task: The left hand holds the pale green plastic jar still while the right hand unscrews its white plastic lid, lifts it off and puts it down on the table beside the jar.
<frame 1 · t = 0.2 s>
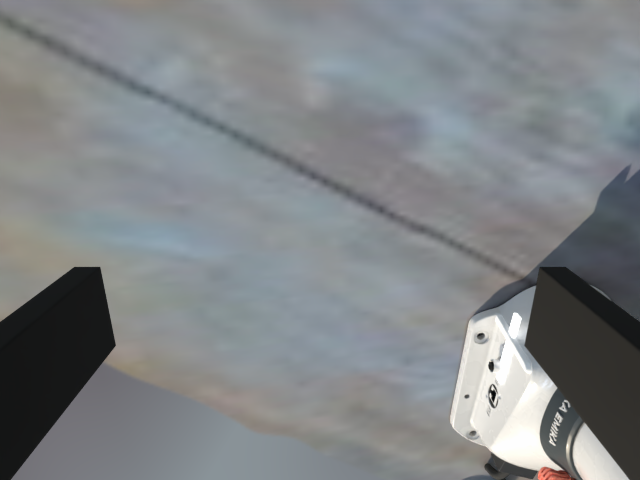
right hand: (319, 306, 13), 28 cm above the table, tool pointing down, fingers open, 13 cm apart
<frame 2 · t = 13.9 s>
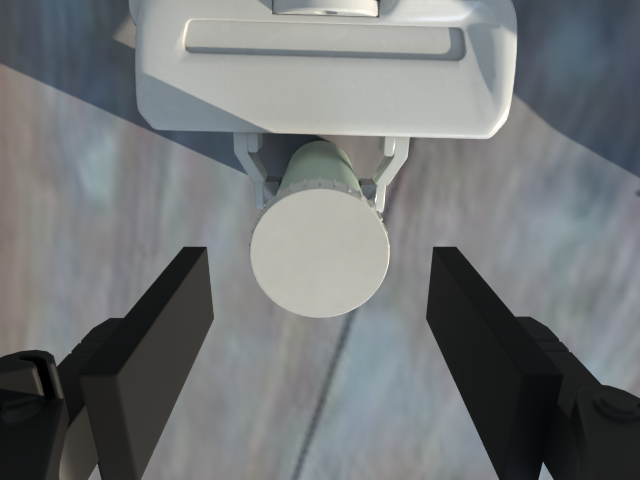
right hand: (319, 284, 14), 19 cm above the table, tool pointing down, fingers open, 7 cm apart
left hand: (320, 208, 26), fingers closed on jar, 5 cm apart
lid: (319, 253, 17), point 16 cm above the table, screwed on, not yet turned
jar: (319, 173, 32), on the table, touching left hand
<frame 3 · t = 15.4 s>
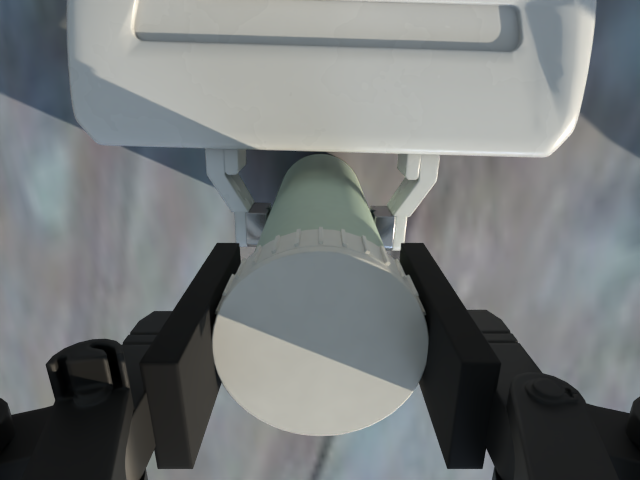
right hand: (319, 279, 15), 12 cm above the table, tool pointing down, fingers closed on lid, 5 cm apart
left hand: (320, 245, 20), fingers closed on jar, 5 cm apart
lid: (320, 344, 11), point 16 cm above the table, screwed on, not yet turned, touching right hand
jar: (320, 193, 26), on the table, touching left hand
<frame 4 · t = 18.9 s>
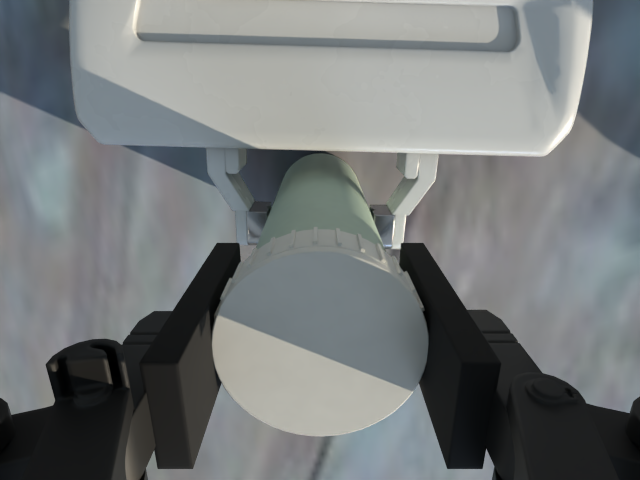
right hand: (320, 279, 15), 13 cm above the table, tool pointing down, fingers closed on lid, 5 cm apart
left hand: (320, 243, 20), fingers closed on jar, 5 cm apart
lid: (320, 344, 11), point 16 cm above the table, turned 123° so far, risen 0.2 cm, still on its thread, touching right hand
jar: (320, 192, 26), on the table, touching left hand
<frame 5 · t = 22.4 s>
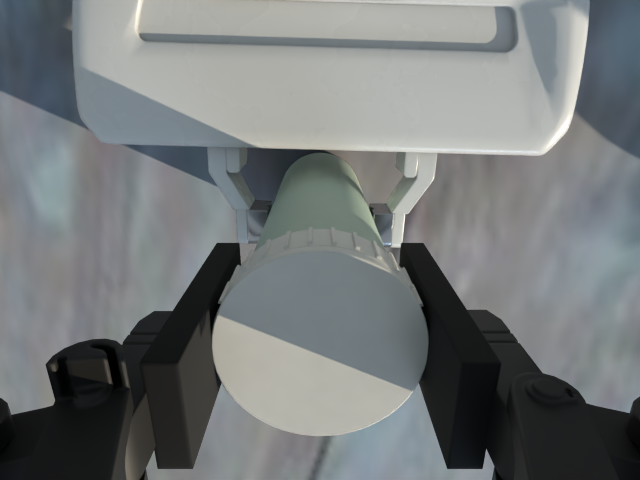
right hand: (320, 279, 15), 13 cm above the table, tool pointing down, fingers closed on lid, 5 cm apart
left hand: (320, 241, 21), fingers closed on jar, 5 cm apart
lid: (320, 344, 11), point 17 cm above the table, turned 245° so far, risen 0.4 cm, still on its thread, touching right hand
jar: (320, 191, 27), on the table, touching left hand
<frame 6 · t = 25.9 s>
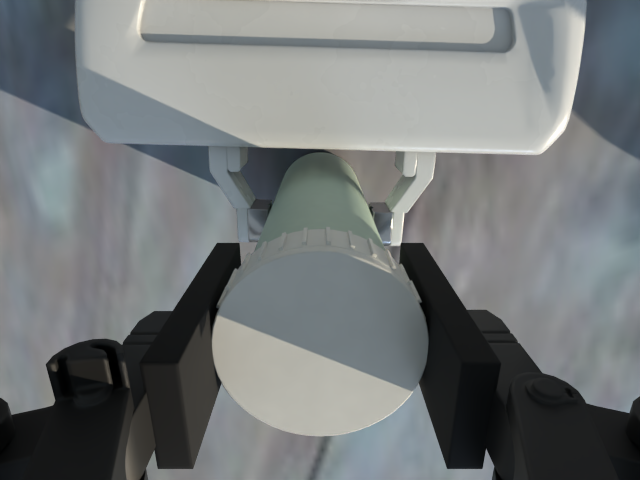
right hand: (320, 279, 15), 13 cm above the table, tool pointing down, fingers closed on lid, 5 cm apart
left hand: (320, 240, 21), fingers closed on jar, 5 cm apart
lid: (320, 344, 11), point 17 cm above the table, turned 368° so far, risen 0.6 cm, still on its thread, touching right hand
jar: (320, 190, 27), on the table, touching left hand
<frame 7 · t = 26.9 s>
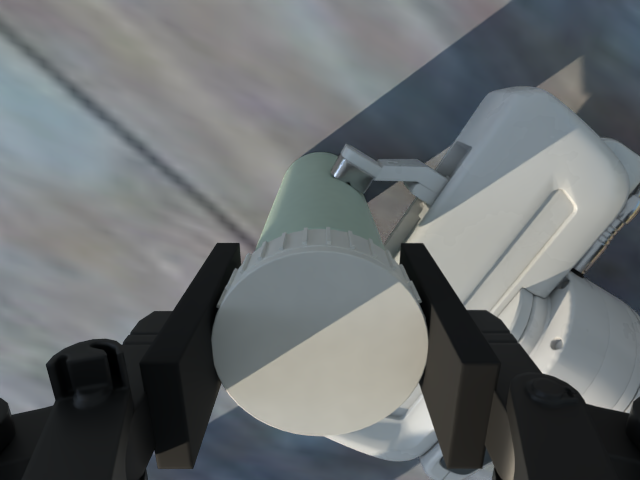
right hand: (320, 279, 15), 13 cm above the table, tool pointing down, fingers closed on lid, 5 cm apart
left hand: (304, 214, 20), fingers closed on jar, 5 cm apart
lid: (320, 344, 11), point 17 cm above the table, off its thread, touching right hand
jar: (320, 190, 27), on the table, touching left hand
when the right hand's fingers open (0 cm above the table, at t = 33.2 s): lid drops 3 cm, point 1 cm above the table.
when the left hand's fingers open (7 cm above the table, at t = 33.9 s): jar stays where it is, on the table.
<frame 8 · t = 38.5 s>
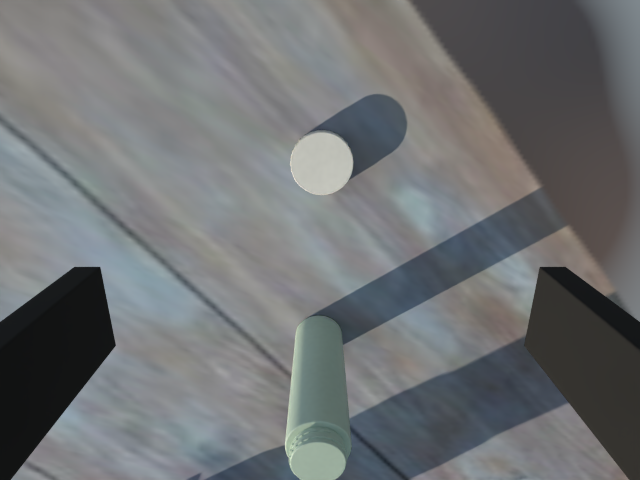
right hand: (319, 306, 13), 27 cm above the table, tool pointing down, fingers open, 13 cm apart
lid: (321, 163, 37), point 1 cm above the table, off its thread
jar: (318, 335, 45), on the table
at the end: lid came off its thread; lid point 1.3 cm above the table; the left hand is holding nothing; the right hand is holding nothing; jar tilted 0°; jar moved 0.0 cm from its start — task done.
